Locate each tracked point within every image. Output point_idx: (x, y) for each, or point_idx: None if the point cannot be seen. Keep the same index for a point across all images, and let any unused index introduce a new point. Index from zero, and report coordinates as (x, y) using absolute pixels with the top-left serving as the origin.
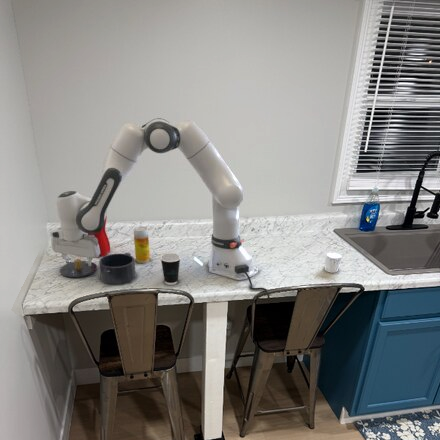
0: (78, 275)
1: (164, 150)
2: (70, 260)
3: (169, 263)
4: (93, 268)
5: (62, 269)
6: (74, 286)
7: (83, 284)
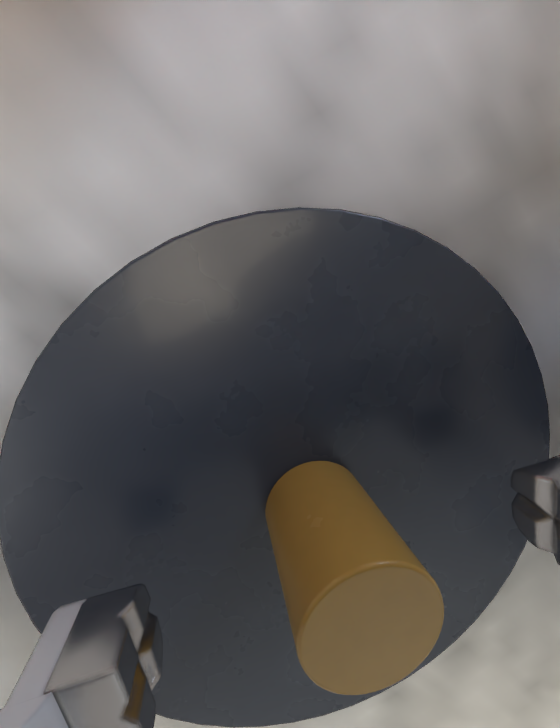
0: (454, 633)
1: None
2: (127, 628)
3: None
4: (508, 394)
5: None
6: (496, 712)
7: (544, 644)
